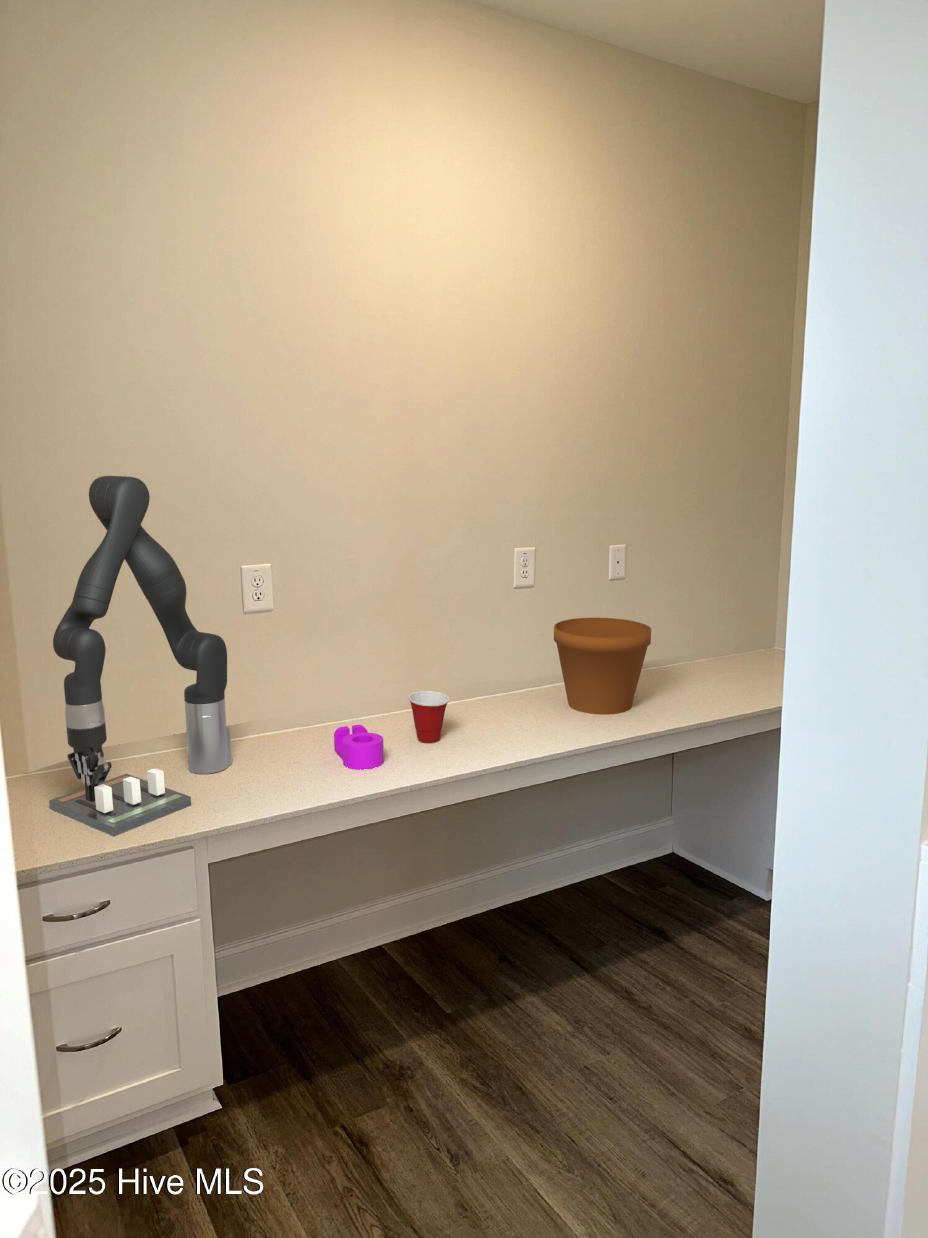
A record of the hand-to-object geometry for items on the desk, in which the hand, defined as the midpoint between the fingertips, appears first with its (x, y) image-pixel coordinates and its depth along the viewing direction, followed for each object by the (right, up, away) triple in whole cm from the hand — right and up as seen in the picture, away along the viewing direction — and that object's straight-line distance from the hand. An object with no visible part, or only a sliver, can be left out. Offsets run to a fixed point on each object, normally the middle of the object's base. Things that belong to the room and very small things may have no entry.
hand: (92, 800), depth 193 cm
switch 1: (+3, -2, -2) cm, 4 cm away
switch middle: (+8, -1, +2) cm, 8 cm away
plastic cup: (+69, +6, +48) cm, 84 cm away
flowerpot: (+119, +13, +78) cm, 143 cm away
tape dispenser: (+52, +3, +34) cm, 63 cm away
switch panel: (+4, -3, +5) cm, 7 cm away
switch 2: (+11, 0, +7) cm, 13 cm away
